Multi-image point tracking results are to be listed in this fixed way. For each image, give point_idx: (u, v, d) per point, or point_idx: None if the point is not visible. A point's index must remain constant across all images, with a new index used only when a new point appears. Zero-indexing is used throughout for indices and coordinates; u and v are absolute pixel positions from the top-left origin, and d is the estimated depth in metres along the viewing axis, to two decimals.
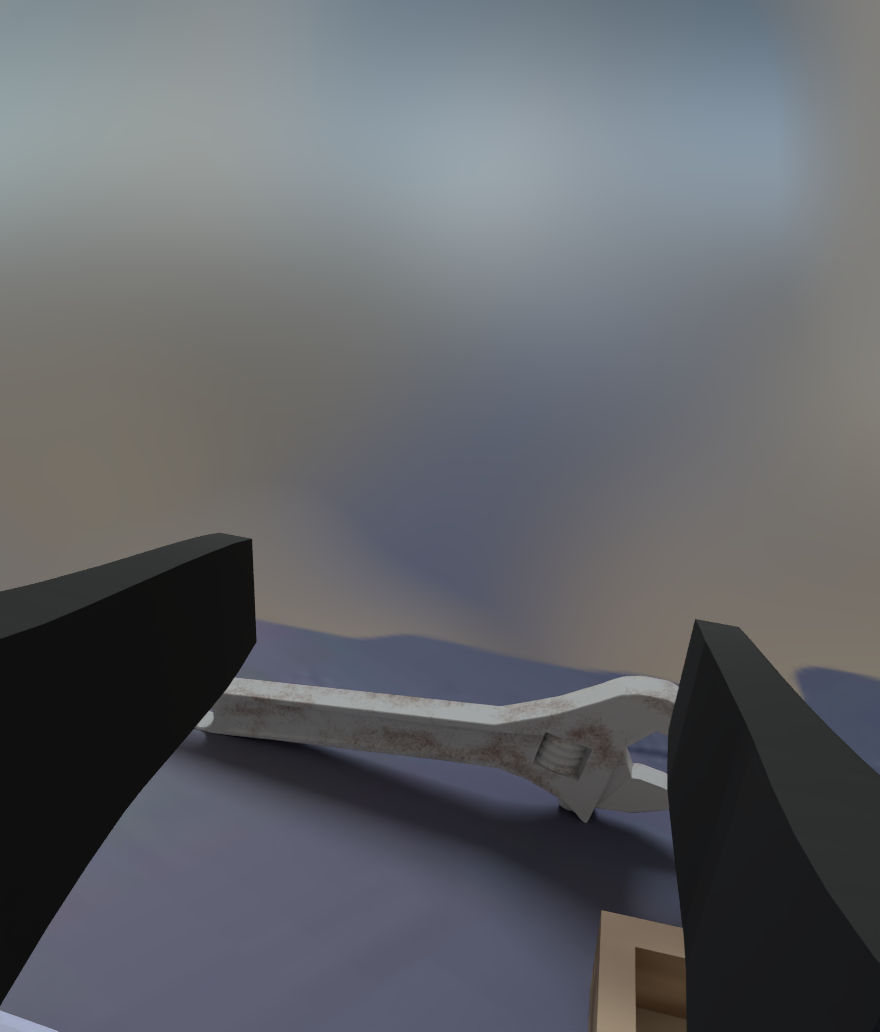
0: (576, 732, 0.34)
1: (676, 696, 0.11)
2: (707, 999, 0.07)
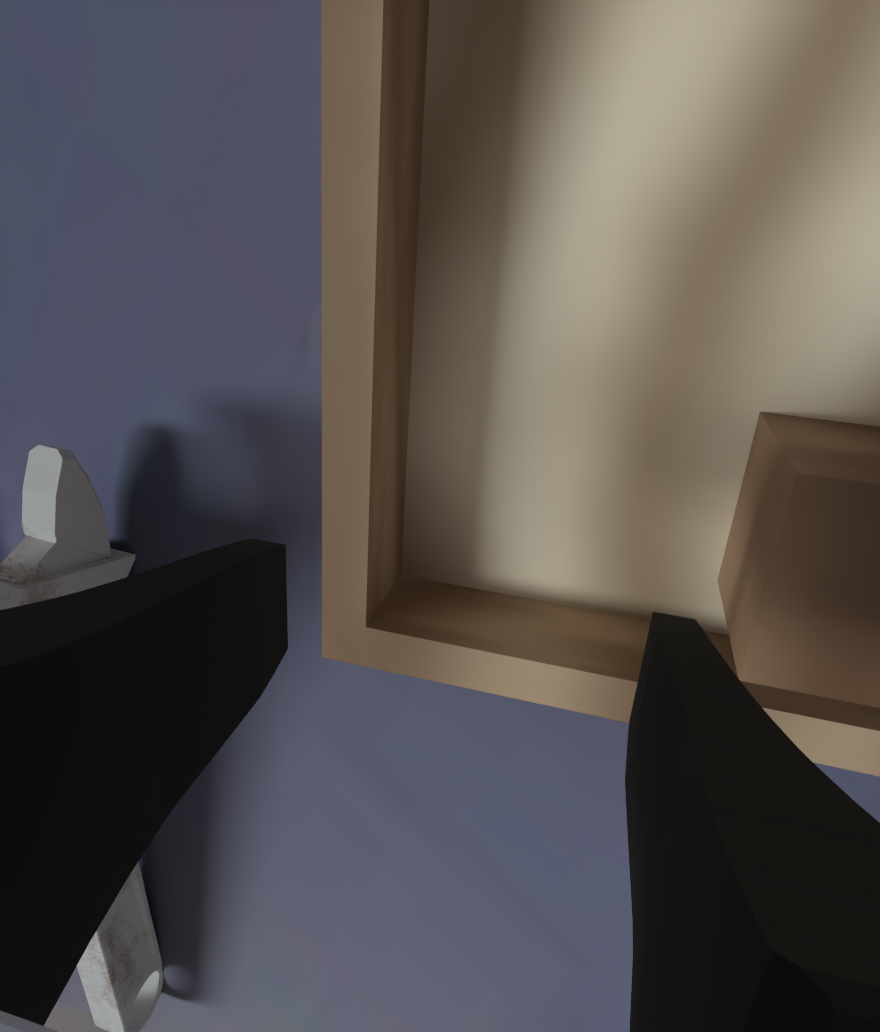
0: None
1: (636, 688, 0.11)
2: (646, 981, 0.07)
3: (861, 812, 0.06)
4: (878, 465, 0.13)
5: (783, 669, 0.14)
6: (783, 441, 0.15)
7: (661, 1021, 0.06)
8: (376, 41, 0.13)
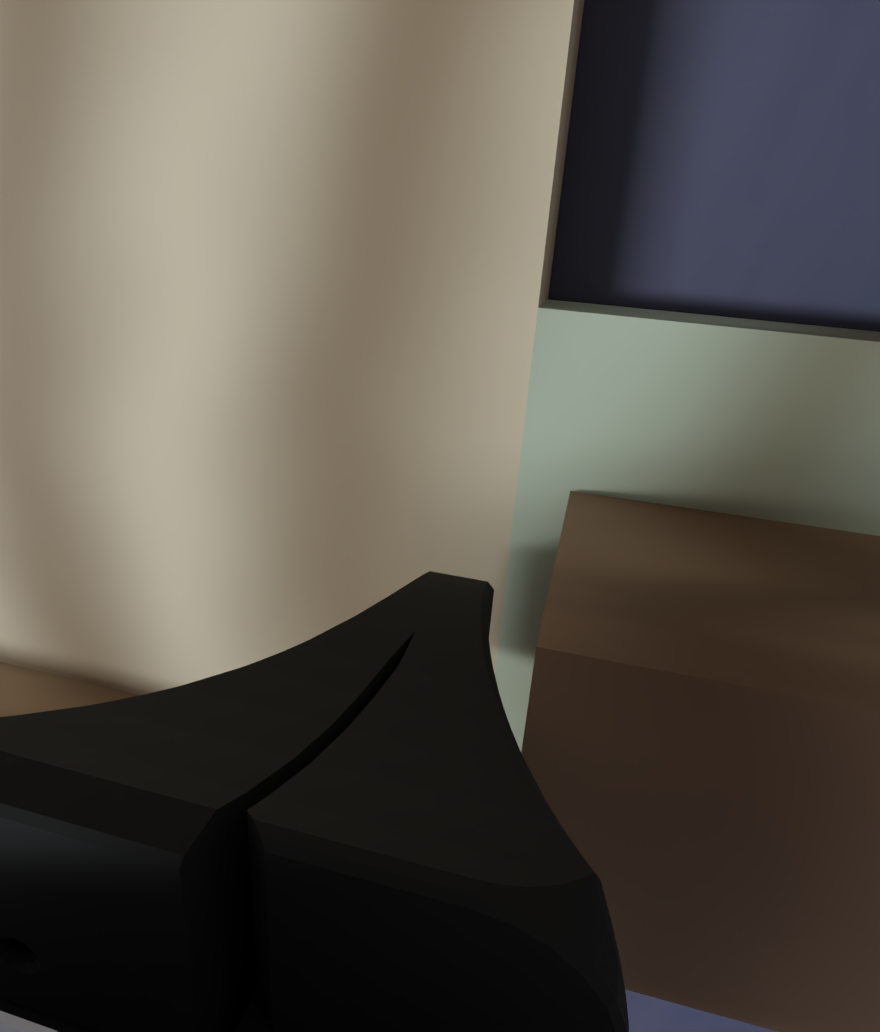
0: None
1: None
2: None
3: (499, 731, 0.07)
4: (700, 615, 0.08)
5: None
6: (565, 558, 0.09)
7: None
8: None
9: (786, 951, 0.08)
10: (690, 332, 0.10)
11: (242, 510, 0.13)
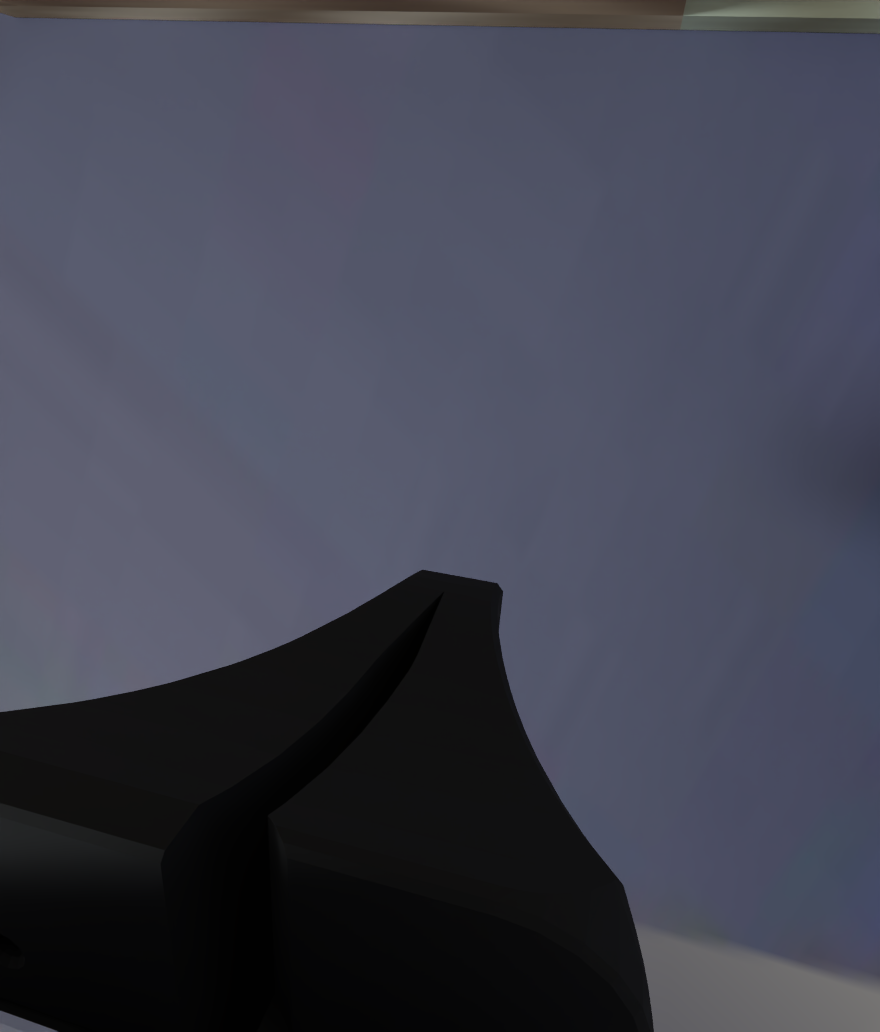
0: None
1: None
2: None
3: (514, 734, 0.07)
4: None
5: None
6: None
7: None
8: None
9: None
10: None
11: None
